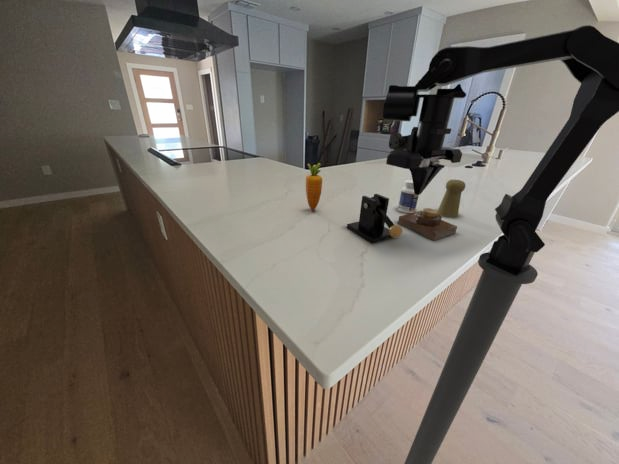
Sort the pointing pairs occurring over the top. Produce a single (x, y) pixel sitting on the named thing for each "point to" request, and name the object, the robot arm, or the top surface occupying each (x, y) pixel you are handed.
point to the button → (429, 213)
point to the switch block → (427, 225)
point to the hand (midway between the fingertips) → (417, 194)
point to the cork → (451, 199)
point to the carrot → (313, 186)
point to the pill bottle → (408, 198)
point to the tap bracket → (371, 220)
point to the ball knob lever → (387, 220)
